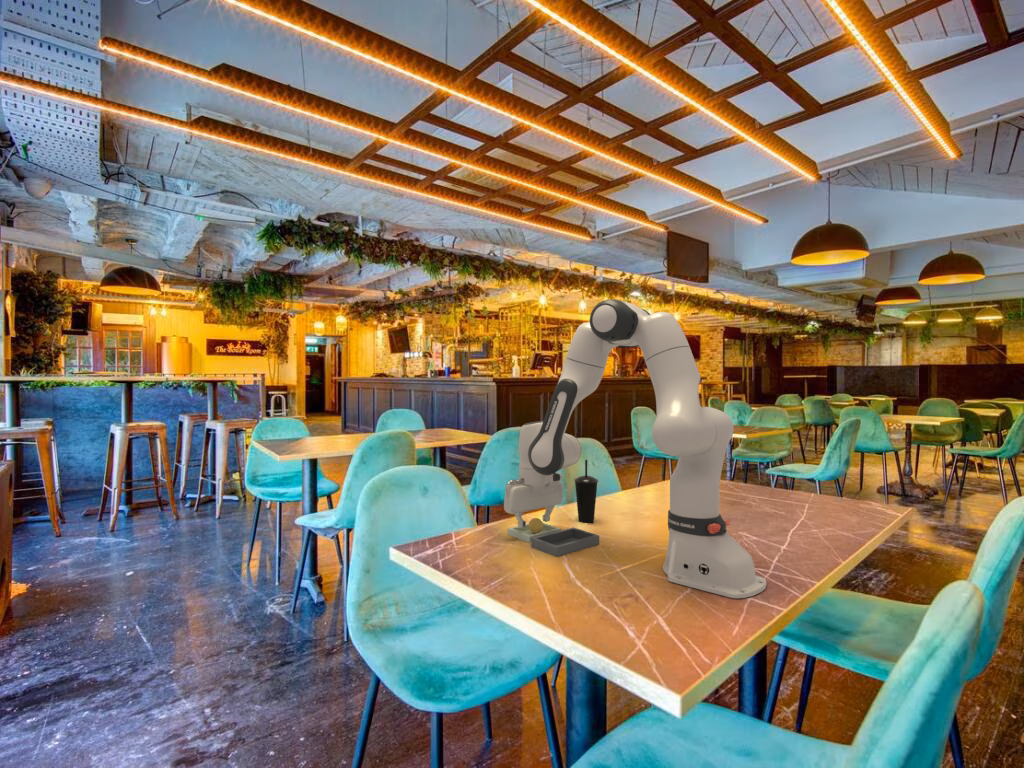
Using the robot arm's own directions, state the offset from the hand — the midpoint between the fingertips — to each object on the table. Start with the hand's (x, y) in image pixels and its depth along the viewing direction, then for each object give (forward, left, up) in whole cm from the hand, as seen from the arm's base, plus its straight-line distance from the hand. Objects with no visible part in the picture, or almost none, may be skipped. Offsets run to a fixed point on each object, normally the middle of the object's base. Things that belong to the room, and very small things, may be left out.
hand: (534, 524), depth 150 cm
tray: (0, 0, -4) cm, 4 cm away
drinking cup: (+1, -23, -4) cm, 23 cm away
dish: (-13, 0, -4) cm, 13 cm away
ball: (0, 0, -3) cm, 3 cm away
